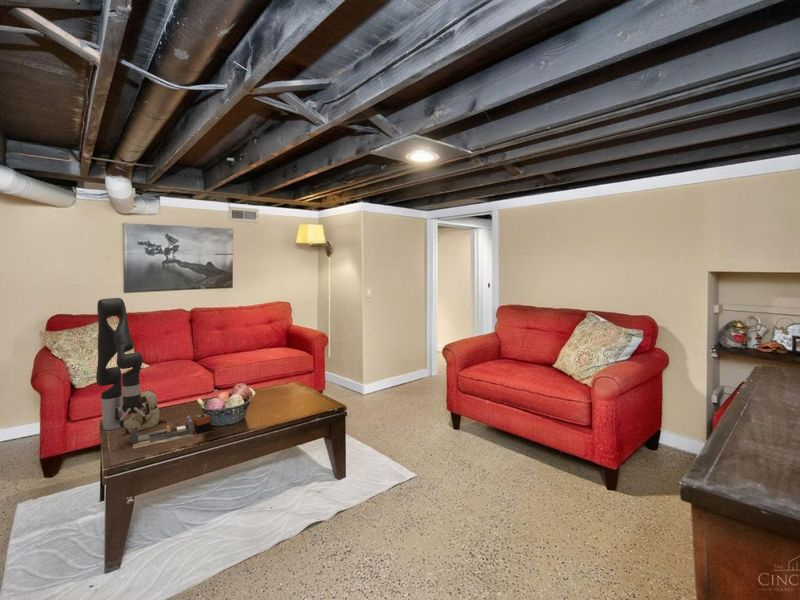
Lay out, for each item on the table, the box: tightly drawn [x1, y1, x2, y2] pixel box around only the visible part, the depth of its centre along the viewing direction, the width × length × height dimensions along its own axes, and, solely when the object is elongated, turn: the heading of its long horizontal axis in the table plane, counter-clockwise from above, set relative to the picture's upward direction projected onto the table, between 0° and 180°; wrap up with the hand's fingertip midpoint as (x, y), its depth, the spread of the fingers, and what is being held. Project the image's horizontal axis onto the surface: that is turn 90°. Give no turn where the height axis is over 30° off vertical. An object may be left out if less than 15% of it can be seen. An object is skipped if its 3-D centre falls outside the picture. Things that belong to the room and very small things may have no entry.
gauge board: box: [132, 415, 194, 449], centre depth 206 cm, size 14×26×8 cm, turn 124°
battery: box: [193, 413, 212, 435], centre depth 213 cm, size 4×7×10 cm, turn 139°
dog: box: [124, 390, 168, 434], centre depth 221 cm, size 23×19×20 cm
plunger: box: [129, 424, 171, 445], centre depth 203 cm, size 5×17×6 cm, turn 124°
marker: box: [176, 425, 186, 432], centre depth 210 cm, size 4×4×3 cm
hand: (133, 425), depth 199 cm, fingers open, 8 cm apart
